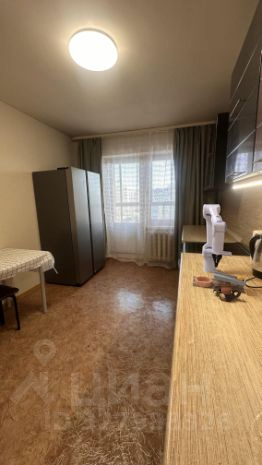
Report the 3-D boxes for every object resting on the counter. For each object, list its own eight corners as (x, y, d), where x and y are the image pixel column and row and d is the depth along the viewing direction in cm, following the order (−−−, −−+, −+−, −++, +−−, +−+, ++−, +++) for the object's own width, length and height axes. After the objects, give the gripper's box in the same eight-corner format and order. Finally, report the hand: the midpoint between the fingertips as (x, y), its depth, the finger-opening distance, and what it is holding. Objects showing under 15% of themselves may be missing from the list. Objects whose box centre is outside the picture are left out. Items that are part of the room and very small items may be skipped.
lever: (211, 272, 118) (213, 265, 117) (239, 279, 113) (241, 272, 112) (212, 281, 106) (214, 274, 105) (244, 289, 101) (246, 281, 100)
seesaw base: (193, 277, 121) (194, 270, 120) (241, 283, 112) (241, 276, 112) (192, 287, 108) (192, 280, 107) (245, 295, 100) (246, 287, 99)
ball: (235, 277, 106) (238, 273, 105) (241, 280, 105) (244, 276, 104) (236, 280, 103) (239, 275, 102) (242, 283, 102) (245, 278, 102)
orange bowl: (195, 279, 116) (195, 275, 116) (211, 281, 113) (211, 277, 113) (194, 285, 108) (195, 281, 108) (211, 288, 105) (212, 283, 105)
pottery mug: (215, 304, 93) (211, 285, 96) (215, 303, 101) (212, 286, 104) (243, 302, 89) (239, 283, 91) (242, 302, 97) (238, 284, 100)
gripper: (203, 244, 110) (202, 268, 112) (233, 246, 105) (231, 271, 107) (203, 241, 116) (202, 263, 119) (231, 243, 111) (229, 266, 114)
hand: (215, 267), depth 114 cm, fingers closed
